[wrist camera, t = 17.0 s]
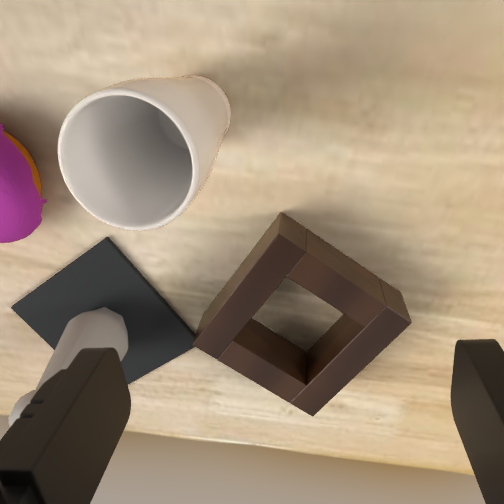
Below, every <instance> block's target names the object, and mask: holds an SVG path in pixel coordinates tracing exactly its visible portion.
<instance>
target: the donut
mask: <svg viewBox="0 0 504 504" xmlns="http://www.w3.org/2000/svg"><path fill="white" fill-rule="evenodd" d="M45 202H47V199H41V181H40V177H39V173H38V170H37V168H36V165H35V163H34V161H33V159H32V157H31V156H30V154H29V153H28V151H27V150H26V149H25V147H24V146H23V145H22V144H21V143H20V142H19V141H17V140H16V139H15V138H14V137H12V136H11V135H9V134H8V133H7V132H5V131H4V126H3V125H2V124H1V123H0V243H10V242H14V241H17V240H20V239H23V238H25V237H27V236H28V235H30V234H31V233H32V232H33V231H34V230H35V229H36V228H37V227H38V226H39V225H40V223H41V221H42V218H41V212H42V206H43V204H44V203H45Z"/></svg>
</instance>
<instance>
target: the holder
mask: <svg viewBox="0 0 504 504" xmlns="http://www.w3.org/2000/svg"><path fill="white" fill-rule="evenodd" d="M286 276H287V277H289V278H290V279H292V280H293V281H295V282H296V283H298V284H299V285H301V286H302V287H304V288H306V289H307V290H309V291H310V292H312V293H313V294H315V295H316V296H318V297H319V298H321V299H322V300H324V301H325V302H327V303H329V304H330V305H332V306H333V307H335V308H336V309H338V310H339V311H341V312H342V313H344V314H343V315H342V316H341V317H340V319H339V320H338V321H337V322H336V323H335V324H334V325H333V326H332V327H331V328H330V329H329V330H328V331H327V332H326V333H325V334H324V335H323V336H322V337H321V339H320V340H319V341H318V342H317V343H316V344H315V345H314V346H313V347H312V348H311V349H310V350H309V351H308V352H307V353H306V352H305V351H303V350H302V349H300V348H299V347H297V346H295V345H294V344H292V343H291V342H289V341H287V340H286V339H284V338H283V337H281V336H279V335H278V334H276V333H275V332H273V331H271V330H270V329H268V328H267V327H265V326H263V325H262V324H260V323H258V322H257V321H255V320H254V319H252V317H253V315H254V314H255V313H256V312H257V311H258V309H259V308H260V307H261V306H262V305H263V303H264V302H265V301H266V300H267V299H268V297H269V296H270V295H271V294H272V292H273V291H274V290H275V289H276V288H277V286H278V285H279V284H280V283H281V282H282V280H283V279H284V278H285V277H286ZM411 323H412V322H411V319H410V316H409V313H408V311H407V308H406V305H405V302H404V300H403V297H402V294H401V292H399V291H398V290H396V289H395V288H393V287H392V286H390V285H389V284H387V283H386V282H384V281H383V280H381V279H380V278H378V277H377V276H376V275H374V274H373V273H371V272H370V271H368V270H367V269H365V268H364V267H362V266H361V265H359V264H358V263H357V262H355V261H354V260H352V259H351V258H349V257H348V256H346V255H345V254H343V253H342V252H340V251H339V250H337V249H336V248H334V247H333V246H331V245H330V244H328V243H327V242H325V241H324V240H323V239H321V238H320V237H318V236H317V235H315V234H314V233H312V232H311V231H309V230H308V229H306V228H305V227H303V226H302V225H300V224H299V223H297V222H296V221H294V220H293V219H291V218H290V217H288V216H287V215H285V214H284V213H282V212H281V213H280V214H279V215H278V217H277V218H276V219H275V221H274V222H273V223H272V224H271V226H270V227H269V228H268V230H267V231H266V232H265V234H264V235H263V236H262V238H261V239H260V240H259V242H258V243H257V244H256V246H255V247H254V248H253V249H252V251H251V252H250V253H249V255H248V256H247V257H246V259H245V260H244V261H243V263H242V264H241V265H240V267H239V268H238V269H237V270H236V272H235V273H234V274H233V276H232V277H231V278H230V280H229V281H228V282H227V284H226V285H225V286H224V288H223V289H222V290H221V292H220V293H219V294H218V295H217V297H216V298H215V299H214V301H213V302H212V303H211V305H210V306H209V307H208V309H207V310H206V311H205V313H204V314H203V316H202V318H201V321H200V324H199V327H198V329H197V332H196V335H195V338H194V340H193V343H192V345H194V346H195V347H197V348H199V349H200V350H202V351H204V352H205V353H207V354H209V355H210V356H212V357H214V358H215V359H217V360H219V361H220V362H222V363H224V364H225V365H227V366H229V367H230V368H232V369H234V370H235V371H237V372H239V373H240V374H242V375H244V376H245V377H247V378H249V379H250V380H252V381H254V382H256V383H257V384H259V385H261V386H262V387H264V388H266V389H267V390H269V391H271V392H272V393H274V394H276V395H277V396H279V397H281V398H282V399H284V400H286V401H287V402H289V403H291V404H293V405H294V406H296V407H298V408H299V409H301V410H303V411H304V412H306V413H308V414H309V415H311V416H314V415H315V414H316V413H317V412H318V411H319V410H320V409H321V408H322V407H323V406H324V405H325V404H327V403H328V402H329V401H330V400H331V399H332V398H333V397H334V396H335V395H336V394H337V393H338V392H339V391H340V390H341V389H342V388H343V387H344V386H346V385H347V384H348V383H349V382H350V381H351V380H352V379H353V378H354V377H355V376H356V375H357V374H358V373H359V372H360V371H361V370H362V369H363V368H365V367H366V366H367V365H368V364H369V363H370V362H371V361H372V360H373V359H374V358H375V357H376V356H377V355H378V354H379V353H380V352H381V351H382V350H384V349H385V348H386V347H387V346H388V345H389V344H390V343H391V342H392V341H393V340H394V339H395V338H396V337H397V336H398V335H399V334H400V333H401V332H403V331H404V330H405V329H406V328H407V327H408V326H409V325H410V324H411Z"/></svg>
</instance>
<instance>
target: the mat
mask: <svg viewBox="0 0 504 504" xmlns="http://www.w3.org/2000/svg"><path fill="white" fill-rule="evenodd" d="M103 307H106V308H108V309H110V310H111V311H113V312H115V313H117V314H119V315H121V316H122V317H123V320H124V323H125V326H126V329H127V332H128V350H127V353H126V354H125V356H124V358H123V359H122V361H121V365H122V368H123V372H124V375H125V379H126V382H127V385H128V384H130V383H131V382H133V381H135V380H137V379H139V378H140V377H142V376H144V375H146V374H147V373H149V372H151V371H153V370H155V369H156V368H158V367H160V366H162V365H163V364H165V363H167V362H169V361H171V360H172V359H174V358H176V357H178V356H180V355H181V354H183V353H185V352H187V351H188V350H190V349H192V348H194V347H195V346H194V345H192V343H193V340H194V338H195V334H194V333H193V332H192V331H191V329H190V328H189V327H188V326H187V325H186V324H185V323H184V322H183V321H182V319H181V318H180V317H179V316H178V315H177V314H176V313H175V312H174V310H173V309H172V308H171V307H170V306H169V305H168V304H167V303H166V301H165V300H164V299H163V298H162V297H161V296H160V295H159V294H158V292H157V291H156V290H155V289H154V288H153V287H152V286H151V285H150V284H149V282H148V281H147V280H146V279H145V278H144V277H143V276H142V275H141V273H140V272H139V271H138V270H137V269H136V268H135V267H134V266H133V264H132V263H131V262H130V261H129V260H128V259H127V258H126V257H125V256H124V254H123V253H122V252H121V251H120V250H119V249H118V248H117V247H116V245H115V244H114V243H113V242H112V241H111V240H110V239H109V238H108V237H106V238H105V239H104V240H102V241H101V242H99V243H98V244H97V245H95V246H94V247H93V248H91V249H90V250H88V251H87V252H86V253H84V254H83V255H82V256H80V257H79V258H77V259H76V260H75V261H73V262H72V263H71V264H69V265H68V266H67V267H65V268H64V269H62V270H61V271H60V272H58V273H57V274H56V275H54V276H53V277H51V278H50V279H49V280H47V281H46V282H45V283H43V284H42V285H40V286H39V287H38V288H36V289H35V290H34V291H32V292H31V293H29V294H28V295H27V296H25V297H24V298H23V299H21V300H20V301H18V302H17V303H16V304H14V305H13V306H12V307H11V308H12V309H13V310H14V311H15V312H16V313H17V314H18V315H19V316H20V317H21V318H22V319H23V320H24V321H25V322H26V323H27V324H28V325H29V326H30V327H31V328H32V329H33V330H34V331H35V332H36V333H37V334H38V335H40V336H41V337H42V338H43V339H44V340H45V341H46V342H47V343H48V344H49V345H50V346H51V347H52V348H53V349H54V350H55V349H56V347H57V345H58V342H59V340H60V338H61V336H62V334H63V332H64V330H65V328H66V326H67V324H68V322H69V321H70V320H71V319H73V318H74V317H76V316H78V315H79V314H81V313H83V312H88V311H92V310H96V309H99V308H103Z"/></svg>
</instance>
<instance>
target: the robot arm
mask: <svg viewBox="0 0 504 504" xmlns="http://www.w3.org/2000/svg"><path fill="white" fill-rule="evenodd" d="M451 407H452V413H453V417H454V421H455V424H456V426H457V429H458V432H459V434H460V437H461V440H462V442H463V445H464V447H465V450H466V453H467V455H468V458H469V461H470V463H471V466H472V469H473V471H474V474H475V476H476V479H477V482H478V484H479V487H480V490H481V492H482V495H483V498H484V500H485V503H486V504H504V351H503V350H502V348H501V346H500V345H499V343H498V342H497V341H496V340H495V339H478V340H458V341H457V343H456V346H455V354H454V365H453V375H452V385H451ZM130 410H131V398H130V393H129V389H128V386H127V382H126V379H125V375H124V372H123V368H122V365H121V361H120V358H119V355H118V352H117V350H116V349H115V348H113V347H105V348H83V349H81V350H80V351H79V352H78V354H77V355H76V357H75V358H74V359H73V361H72V362H71V364H70V365H69V366H68V368H67V369H61V370H60V371H58V372H57V373H56V374H55V375H53V376H52V377H51V378H50V379H48V380H47V381H46V382H44V383H43V384H42V385H41V387H40V388H39V389H38V391H37V392H36V393H35V395H34V396H33V398H32V399H31V400H30V404H27V406H26V407H25V408H24V410H23V411H22V412H21V414H20V417H19V418H17V419H16V420H15V422H14V423H13V424H12V426H11V427H10V428H9V430H8V431H7V433H6V434H5V435H4V436H3V438H2V439H1V441H0V504H90V502H91V500H92V498H93V496H94V494H95V492H96V489H97V487H98V485H99V483H100V481H101V478H102V476H103V474H104V472H105V470H106V468H107V465H108V463H109V461H110V459H111V456H112V454H113V452H114V450H115V448H116V446H117V444H118V441H119V439H120V437H121V435H122V433H123V430H124V428H125V426H126V424H127V422H128V419H129V415H130Z"/></svg>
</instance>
